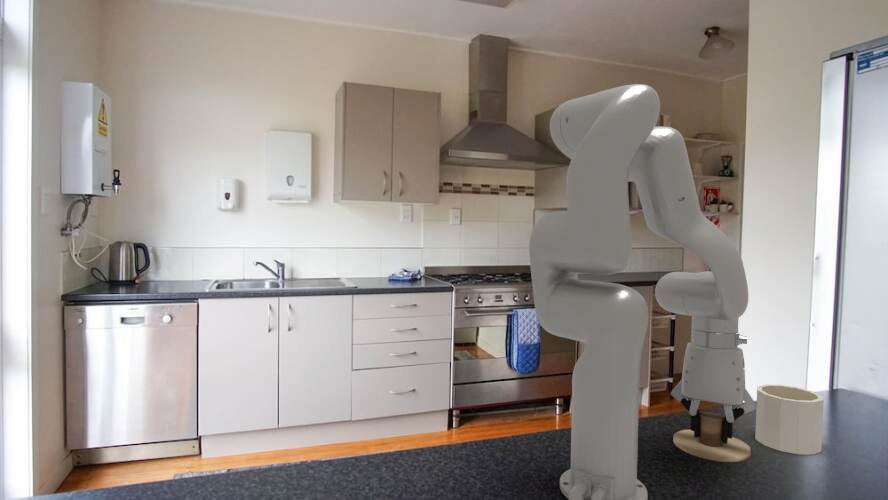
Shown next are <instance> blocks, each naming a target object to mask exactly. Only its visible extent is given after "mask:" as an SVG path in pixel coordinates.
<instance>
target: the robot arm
mask: <svg viewBox="0 0 888 500" xmlns="http://www.w3.org/2000/svg"><path fill="white" fill-rule="evenodd" d="M660 112H661V102H660V96H659V94H658V93H657V91H656V90H655V89H654V88H653V87H652V86H650V85H647V84H642V83H641V84H640V83H636V84H635V83H634V84H626V85H622V86H616V87H612V88H608V89H606V90H605V89H604V90H601V91H598V92H595V93H592V94H589V95H584V96H581V97H575V98H573V99H569V100H567V101H564V103H561V104H560V105H558V106H557V107H556V108H555V109H554V111H553V112H552V115H551V117H550V121H549V132H550V136H551V140H552V141H553V143H554V145H555V146H556V147H557V148H558V150H559V151H560V152H561V153H562V154H563V155H565V156H566V157H567V158H569V159H570V162H569V165H568V169H567V173H566V180H565V181H566V182H565V183H566V184H565V185H566V206H567V210H558V211H557V210H555V211H552V212H547V213H546V214H544V215H542V216H541V217H539V219H538V220H537V221H536V223H535V224H534V227H533V228H532V231H531V234H530V236H529V244H528V251H529V255H528V256H529V264H530V275H531V286H532V295H533V303H534V309H535V315H536V319H537V321H538V322H539V324H540V326H541V327H542V328H543V330H545V331H546V332H548V333H549V334H550V335H553V336H556V337H560V338H564V339H567V340H568V339H569V340H573V341H577V342H580V343H583V344H585V346H584V347H585V348H584V350H583V351H582V353H581V355H580V356H579V358H578V359H577V361H576V363H575V365H574V367H573V370H572V371H573V372H572V378H571V384H572V385H571V423H570V424H571V430H570V431H571V433H570V468H569V469H567V470H566V471H564V472H563V473H562V474H561V475H560V478H559V489H560V491H561V493H562V494H563V495H564V496H565V498H567V500H648V497H649V496H648V495H649V494H648V493H649V492H648V489H647V488H646V486H645V485H644V483H642V481H640V480H639V479H638V476H637V475H638V449H639V448H638V447H639V445H638V443H639V442H638V441H639V440H638V439H639V438H638V437H639V409H640V408H639V406H640V403H639V402H640V372H641V361H642V353H643V347H644V342H645V339H646V335H647V330H648V326H649V317H650V316H649V315H650V314H649V307H648V304H647V301H646V300H645V298H644V296H642V294H640V292H638V291H637V290H635V289H634V288H632V287H629V286H626V285H624V284H620V283H616V282H608V281H600V280H599V281H597V280H585V279H579V278H578V277H579V275H578V273H579V274H585V275H588V274H589V275H599V276H600V275H603V276H605V275H615V274H618V273H620V272H622V271H624V270H625V269H626V268H627V267H628V265H629V264H630V262H631V258H632V251H633V247H632V246H633V244H632V242H633V241H632V240H633V239H632V225H631V214H630V213H631V212H630V199H629V182H630V183H631V182H634V184H635V186H636V190H637V194H638V198H639V202H640V205H641V208H642V213H643V217H644V219H645V224H646V226H647V228H648V229H649V230H650V232H653V233H654V234H655V235H658V236H660V237H661V238H664V239H666V240H668V241H670V242H672V243H673V244H676V245H678V246H680V247H682V248H685V249H686V250H688V251H690V252H692V254H695V255H696V256H697V257H698V258H699V259H701V260H702V261H703V263H704V264H705V265H706V266H707V267H708V268H709V270H710V271H709V270H707V271H699V272H691V271H672V272H669V273H666V274H665V275H663V276H662V277H661V278H660V279H659V280H658V281H657V283H656V286H655V289H654V296H655V299H656V301H657V303H658V306H659V307H661V308H662V309H663V310H665V311H667V312H669V313H673V314H677V315H682V316H683V315H684V316H690V317H691V336H690V338H691V339H690V342H687V344H686V348H685V351H684V352H685V353H684V358H683V365H682V372H681V373H682V375H681V379H680V380H679V382H678V383H677V384H676V386H675V387H674V388H673V389H672V390H671V392H670V396H672V397H673V398H674V399H675V400H676V401H677V402H679V403H680V404H681V405H682V406H683V407H684V408H685V410H686V411H688V413H689V415H690V429H691V431H694V437H695V438H697V437H699V419H700V413H701V412H700V409H699V406H700V402H707V403H712V404H719V405H722V406H723V408H724V413H725V415H724V421H723V440H722V442H723V443H724V444H727V441H728V438H731V439H732V437H733V426H734V425H733V424H734V422H735V420H737V419H739V418H740V417H742V416H743V415H744V414H748V413H751V412H754V411H755V410H756V406H757V402H755V400H754V399H753V397H752V396H751V394H750V392H749V391H748V390H747V388H746V368H745V365H746V364H745V359H744V358H745V357H744V352H743V349H742V348H740V347H738V346H740V345H743V344H745V345H748V336H745V335H742V334H740V333H739V318H740V317H742V316H743V314H744V313H745V312H746V310H747V308H748V304H749V288H748V282H747V276H746V275H747V274H746V272H745V266H744V262H743V259H742V256H741V254H740V252H739V249H737V247H736V246H735V244H734V243H733V242H732V241H731V240H730V239H729V237H728V236H727V235H726V234H725V233H724V232H723V231H722V230H721V229H720V228H719V227H718V226H717V225H716V224H715V223H713V221H711V220H710V219H708V217H706V216H705V215H704V214H703V212H702V209H701V206H700V202H699V197H698V193H697V190H696V189H697V188H696V184H695V180H694V176H693V170H692V167H691V163H690V158H689V154H688V149H687V145H686V142H685V139H684V137H683V135H682V134H681V132H680V131H679V130H677V129H676V128H673V127H670V126H656V125H657V123H658V121H659V118H660ZM743 403H744V404H743ZM734 407H735V408H734Z"/></svg>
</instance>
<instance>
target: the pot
mask: <svg viewBox="0 0 888 500" xmlns="http://www.w3.org/2000/svg"><path fill="white" fill-rule="evenodd" d="M823 397H824V396H823V395H821V394H819V393H818V392H814V391H812V390H810V389H809V390H808V389H805V388H801V387H797V386H791V385H784V384H761V385H758V386H757V387H756V405H757V406H756V409H755V410H756V411H755V435H754V438H755V440H756V441H757V442H759V443H760V444H761V445H762V446H765V447H767V448H771V449H772V450H776V451H778V452H784V453H789V454H794V455H806V456H807V455H809V456H813V455H816V454H820V453H822V447H823V446H822V444H823V420H824V398H823Z"/></svg>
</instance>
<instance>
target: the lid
mask: <svg viewBox="0 0 888 500" xmlns="http://www.w3.org/2000/svg"><path fill="white" fill-rule="evenodd" d="M724 418H725V416H723V415H722V414H720V413H716V412H711V411H701V412H700V419H699V437H697V438H695V437H694V431H691V428H690V429H682V430H679V431H676V432H675V433H674V434H673V437H672V438H673V440H672V441H673V444H674V446H675V447H677V448H678V449H680V450H681V451H683V452H685V453H687V454H689V455H691V456H693V457H697V458H701V459H705V460H709V461H713V462H721V463H723V462H724V463H738V462H742V461H746V460H748V459H749V458H750V457H751V452H752V451H751V447H750V446H749V445H748V444H747V443H746V442H744V441H743V440H741V439H739V438H737V437H734V436H732V439H731V438H728V441H727V444H724V443H723V442H722V440H723V421H724Z"/></svg>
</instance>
